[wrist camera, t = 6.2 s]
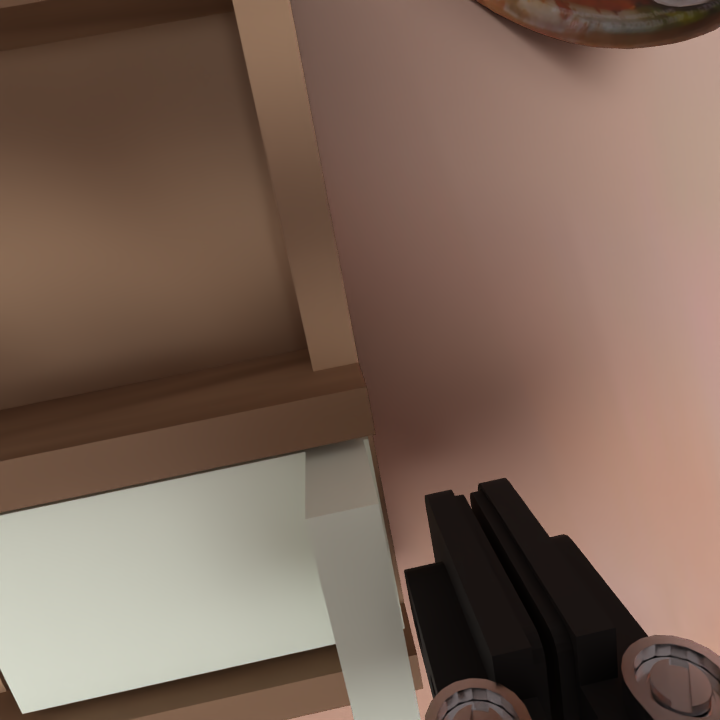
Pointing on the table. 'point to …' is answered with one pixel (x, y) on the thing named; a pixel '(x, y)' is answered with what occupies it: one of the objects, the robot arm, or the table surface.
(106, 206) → the wooden compartment tray
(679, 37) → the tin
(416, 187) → the table surface
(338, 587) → the lid
